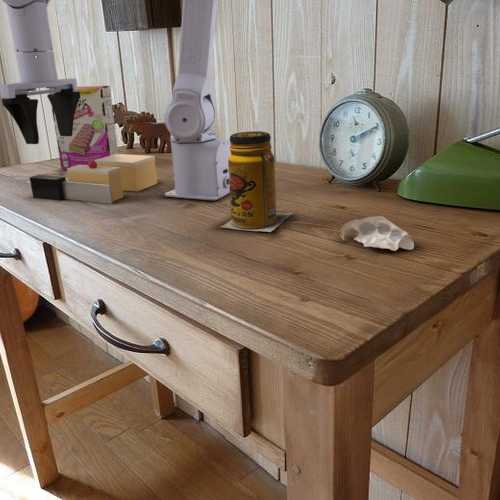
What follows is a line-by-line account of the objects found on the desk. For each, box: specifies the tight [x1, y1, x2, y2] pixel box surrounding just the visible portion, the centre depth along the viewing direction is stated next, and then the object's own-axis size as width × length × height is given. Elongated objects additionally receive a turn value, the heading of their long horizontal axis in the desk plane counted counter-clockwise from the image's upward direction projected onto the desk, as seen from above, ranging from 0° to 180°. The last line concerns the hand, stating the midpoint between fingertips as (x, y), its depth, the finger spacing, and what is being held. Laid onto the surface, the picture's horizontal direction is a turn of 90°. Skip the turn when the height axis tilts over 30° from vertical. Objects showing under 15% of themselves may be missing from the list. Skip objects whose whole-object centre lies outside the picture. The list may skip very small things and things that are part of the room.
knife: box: [29, 174, 114, 205], centre depth 88 cm, size 16×2×4 cm, turn 65°
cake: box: [94, 153, 158, 192], centre depth 96 cm, size 8×6×5 cm
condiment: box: [221, 130, 294, 233], centre depth 72 cm, size 7×8×12 cm
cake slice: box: [66, 160, 124, 202], centre depth 89 cm, size 8×3×6 cm, turn 65°
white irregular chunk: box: [340, 215, 415, 252], centre depth 63 cm, size 6×8×4 cm
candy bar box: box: [48, 84, 119, 171], centre depth 110 cm, size 11×5×16 cm, turn 84°
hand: (50, 139), depth 89 cm, fingers open, 7 cm apart
